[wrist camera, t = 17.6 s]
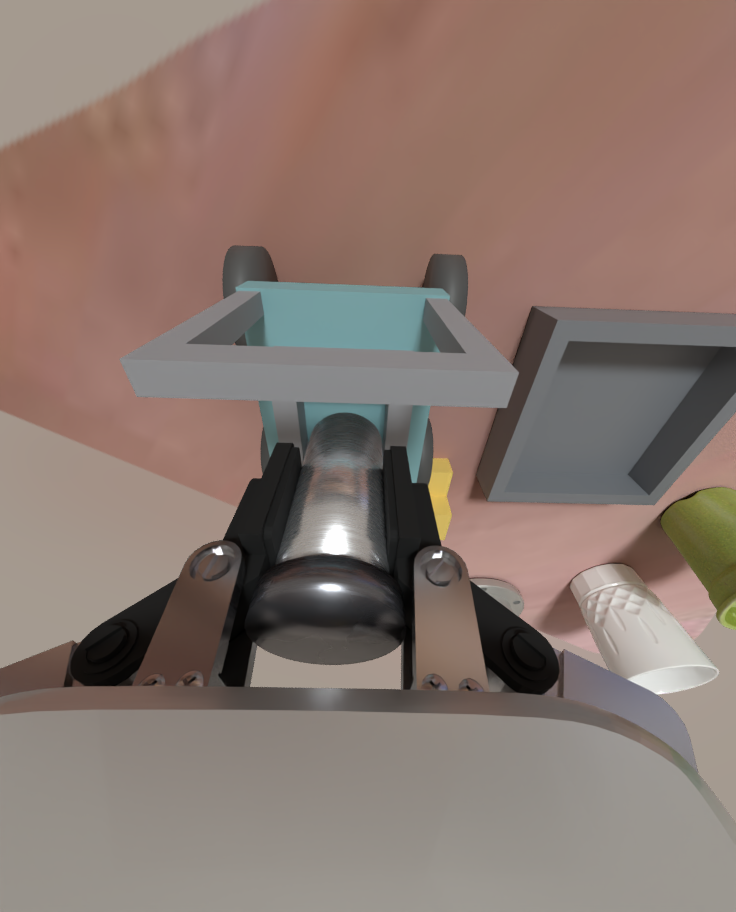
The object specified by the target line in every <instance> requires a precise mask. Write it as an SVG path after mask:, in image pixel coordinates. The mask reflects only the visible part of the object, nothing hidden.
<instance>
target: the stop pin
mask: <svg viewBox="0 0 736 912" xmlns="http://www.w3.org/2000/svg"><path fill="white" fill-rule="evenodd" d="M382 469H383V456H382V440H381V436H380V433H379V431H378V429H377V428H376V427H375V425H374V424H373V423H372V422H370V421H369V420H368V419H366V418H364V417H362V416H360V415H357V414H353V413H335V414H332V415H329V416H327V417H325V418H323V419H322V420H320V421H319V422H318V423H317V424H316V425H315V427H314V428H313V430H312V433H311V436H310V440H309V443H308V447H307V451H306V454H305V458H304V462H303V465H302V469H301V473H300V476H299V480H298V484H297V487H296V491H295V495H294V498H293V502H292V505H291V509H290V513H289V516H288V520H287V524H286V527H285V531H284V535H283V538H282V542H281V546H280V549H279V553H278V556H277V560H276V563H275V566H273V567H272V568H270V569H268V570H267V571H266V572H265V573H264V574H263V575H262V576H261V577H260V578H259V580H258V582H257V584H256V587H255V590H254V594H253V597H252V600H251V603H250V607H249V610H248V613H247V616H246V619H245V630H246V633H247V635H248V636H249V638H250V639H251V640H252V641H253V642H254V643H255V644H257V645H258V646H259V647H261V648H263V649H264V650H266V651H268V652H270V653H272V654H275V655H277V656H280V657H283V658H286V659H290V660H294V661H299V662H304V663H311V664H325V665H341V664H353V663H359V662H365V661H369V660H373V659H376V658H379V657H382V656H384V655H386V654H388V653H390V652H392V651H393V650H395V649H396V648H397V647H398V646H399V645H401V643H402V642H403V640H404V638H405V636H406V623H405V612H404V601H403V593H402V589H401V587H400V585H399V584H398V582H397V581H396V580H395V579H394V578H393V577H392V576H391V575H390V574H389V565H388V562H387V544H386V526H385V507H384V489H383V470H382Z"/></svg>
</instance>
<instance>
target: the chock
mask: <svg viewBox="0 0 736 912" xmlns="http://www.w3.org/2000/svg"><path fill="white" fill-rule="evenodd" d="M452 474H453V472H452V469H451V466H450V463H449V460H448V459H436V458H433V465H432V473H431V478H430V482H429V485H428V488H429V492H430V497H431V501H432V506H433V510H434V515H435V519H436V524H437V528H438V533H439V537H440V540H445V536H446V533H447V530H448V527H449V523H450V520H451V517H452V514H451V510H450V507H449V503H448V500H447V493H448V489H449V485H450V482H451V478H452Z"/></svg>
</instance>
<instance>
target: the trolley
mask: <svg viewBox="0 0 736 912" xmlns="http://www.w3.org/2000/svg"><path fill="white" fill-rule="evenodd" d="M467 294H468V272H467V265H466V261H465V258H464V257H463V256H462V255H446V254H434V255H433V256H432V257H431V259H430V261H429V264H428V267H427V271H426V275H425V279H424V284H423V288H416V287H391V286H366V285H340V284H315V283H290V282H278V281H277V276H276V272H275V268H274V265H273V262H272V260H271V257H270V255H269V253H268V252H267V250H266V249H265V248H264V247H258V246H231V247H230V248H229V249H228V251H227V253H226V256H225V260H224V266H223V296H224V299H223V300H222V301H220V302H218V303H216V304H215V305H213V306H211V307H209V308H208V309H206V310H204V311H202V312H201V313H199V314H197V315H195V316H194V317H192V318H190V319H188V320H187V321H185V322H183V323H181V324H180V325H178V326H176V327H175V328H173V329H171V330H169V331H168V332H166V333H164V334H162V335H161V336H159V337H157V338H155V339H154V340H152V341H150V342H148V343H147V344H145V345H143V346H141V347H140V348H138V349H136V350H134V351H133V352H131V353H129V354H128V355H126V356H124V357H122V358H121V359H120V361H121V364H122V366H123V368H124V370H125V372H126V374H127V376H128V379H129V381H130V383H131V385H132V387H133V389H134V391H135V394H136V396H137V397H160V398H192V399H225V400H258V401H259V406H260V411H261V416H262V421H263V426H264V427H263V431H262V438H261V466H262V472H263V473H264V471H265V468H266V466H267V464H268V461H269V459H270V457H271V454H272V452H273V449H274V447H275V445H276V443H277V442H279V443H293V444H294V447H299V449H300V455H301V464H302V465H303V462H304V458H305V454H306V451H307V447H308V443H309V440H310V436H311V433H312V430H313V428H314V427H315V425H316V424H317V423H318V422H319V421H320V420H322V419H323V418H325V417H327V416H329V415H332V414H335V413H353V414H357V415H360V416H362V417H364V418H366V419H368V420H369V421H370V422H372V423H373V424H374V425H375V427H376V428H377V429H378V431H379V433H380V436H381V440H382V456H383V457H384V450H390V446H406V450H407V456H408V462H409V468H410V474H411V480H412V483H427V485H429V482H430V478H431V473H432V465H433V434H432V427H431V423H430V420H429V418H428V416H429V410H430V406H456V407H489V408H507V406H508V403H509V400H510V397H511V394H512V391H513V389H514V386H515V383H516V380H517V377H518V374H519V372H518V371H517V370H516V369H515V368H514V367H513V366H512V365H511V364H510V363H509V362H508V361H507V360H506V358H505V357H504V356H503V355H502V354H501V353H500V352H499V351H498V350H497V349H496V348H495V347H494V346H493V345H492V344H491V343H490V342H489V341H488V340H487V339H486V338H485V337H484V336H483V335H482V334H481V333H480V332H479V331H478V330H477V329H476V328H475V327H474V326H473V325H472V324H471V323H470V322H469V321H468V320H467V319H466V318H465V313H466V305H467ZM234 342H235V344H236V345H232V344H233V343H234Z"/></svg>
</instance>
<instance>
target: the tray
mask: <svg viewBox="0 0 736 912" xmlns="http://www.w3.org/2000/svg"><path fill="white" fill-rule="evenodd" d="M513 367H514V368H515V369H516V370H517V371H518V372H519V374H518V377H517V380H516V383H515V386H514V389H513V391H512V394H511V397H510V400H509V403H508V406H507V408H498V411H497V414H496V417H495V420H494V423H493V426H492V429H491V432H490V435H489V438H488V441H487V444H486V447H485V450H484V453H483V456H482V459H481V462H480V465H479V468H478V471H477V474H476V476H477V478H478V481H479V483H480V486H481V488H482V490H483V493H484V495H485V497H486V500H487V501H495V502H539V503H583V504H626V505H655V504H656V503H657V501H658V500H659V499H660V498H661V497H662V496H663V495H664V493H665V492H666V491H667V490H668V489H669V488H670V487H671V485H672V484H673V483H674V482H675V481H676V480H677V479H678V477H679V476H680V475H681V474H682V473H683V472H684V471H685V469H686V468H687V467H688V466H689V465H690V464H691V463H692V461H693V460H694V459H695V458H696V457H697V456H698V455H699V453H700V452H701V451H702V450H703V449H704V448H705V447H706V445H707V444H708V443H709V442H710V441H711V440H712V439H713V437H714V436H715V435H716V434H717V433H718V432H719V431H720V429H721V428H722V427H723V426H724V425H725V424H726V423H727V421H728V420H729V419H730V418H731V417H732V416H733V415H734V413H735V412H736V314H721V313H695V312H669V311H643V310H617V309H591V308H565V307H539V306H532V309H531V312H530V315H529V318H528V321H527V324H526V327H525V330H524V333H523V336H522V339H521V342H520V345H519V348H518V351H517V354H516V357H515V360H514V363H513Z"/></svg>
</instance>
